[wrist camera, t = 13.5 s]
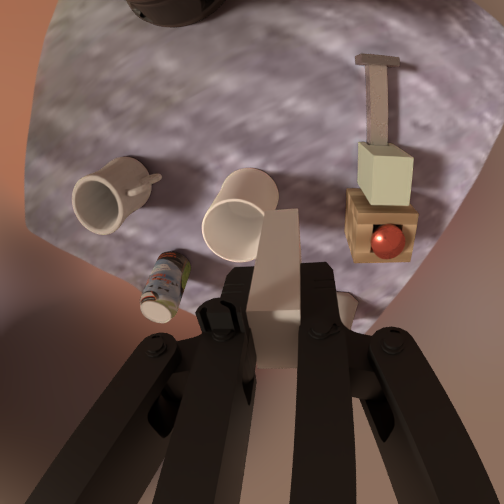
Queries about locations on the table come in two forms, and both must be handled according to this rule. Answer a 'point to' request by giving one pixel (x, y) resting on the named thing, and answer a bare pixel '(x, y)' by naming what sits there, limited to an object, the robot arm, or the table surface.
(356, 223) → the wooden boxy piece
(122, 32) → the table surface
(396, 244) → the plunger
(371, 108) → the rail
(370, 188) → the block
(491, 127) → the table surface
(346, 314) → the flask
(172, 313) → the beverage can
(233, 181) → the mug
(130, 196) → the mug
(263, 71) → the table surface
